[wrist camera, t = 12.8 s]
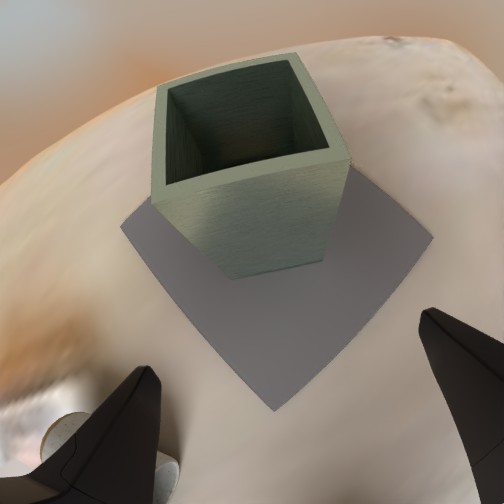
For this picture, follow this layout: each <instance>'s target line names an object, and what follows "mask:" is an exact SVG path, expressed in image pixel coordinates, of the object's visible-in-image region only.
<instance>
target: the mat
mask: <svg viewBox="0 0 504 504" xmlns="http://www.w3.org/2000/svg"><path fill="white" fill-rule="evenodd" d="M120 227H121V229H122V230H123V232H124V233H125V235H126V236H127V238H128V239H129V241H130V242H131V243H132V245H133V246H134V248H135V249H136V251H137V252H138V253H139V255H140V256H141V258H142V259H143V260H144V262H145V263H146V265H147V266H148V267H149V269H150V270H151V271H152V273H153V274H154V275H155V277H156V278H157V279H158V281H159V282H160V283H161V285H162V286H163V287H164V289H165V290H166V291H167V292H168V294H169V295H170V296H171V298H172V299H173V300H174V301H175V303H176V304H177V305H178V306H179V308H180V309H181V310H182V311H183V313H184V314H185V315H186V316H187V318H188V319H189V320H190V321H191V322H192V324H193V325H194V326H195V327H196V328H197V330H198V331H199V332H200V333H201V334H202V335H203V337H204V338H205V339H206V340H207V341H208V342H209V344H210V345H211V346H212V347H213V348H214V349H215V350H216V352H217V353H218V354H219V355H220V356H221V357H222V358H223V359H224V361H225V362H226V363H227V364H228V365H229V366H230V367H231V368H232V369H233V370H234V371H235V373H236V374H237V375H238V376H239V377H240V378H241V379H242V380H243V381H244V382H245V383H246V384H247V385H248V386H249V387H250V388H251V389H252V390H253V391H254V392H255V393H256V394H257V396H258V397H259V398H260V399H261V400H262V401H263V402H264V403H265V404H266V405H267V406H268V407H269V408H271V409H272V410H273V411H274V412H275V411H276V410H277V409H278V408H280V407H281V406H282V405H283V404H284V403H286V402H287V401H288V400H289V399H290V398H291V397H293V396H294V395H295V394H296V393H297V392H298V391H299V390H301V389H302V388H303V387H304V386H305V385H306V384H307V383H308V382H309V381H310V380H312V379H313V378H314V377H315V376H316V375H317V374H318V373H319V372H320V371H321V370H322V369H323V368H324V367H325V366H326V365H327V364H328V363H329V362H330V361H331V360H332V359H333V358H334V357H335V356H336V355H337V354H338V353H339V352H340V351H341V350H342V349H343V348H344V347H345V346H346V345H347V344H348V343H349V342H350V341H351V340H352V339H353V338H354V337H355V336H356V335H357V333H358V332H359V331H360V330H361V329H362V328H363V327H364V326H365V325H366V324H367V322H368V321H369V320H370V319H371V318H372V317H373V316H374V314H375V313H376V312H377V311H378V310H379V309H380V307H381V306H382V305H383V304H384V303H385V302H386V300H387V299H388V298H389V297H390V295H391V294H392V293H393V292H394V291H395V289H396V288H397V287H398V286H399V284H400V283H401V282H402V280H403V279H404V278H405V277H406V275H407V274H408V273H409V271H410V270H411V269H412V267H413V266H414V265H415V263H416V262H417V261H418V259H419V258H420V256H421V255H422V254H423V252H424V251H425V249H426V248H427V246H428V245H429V244H430V242H431V241H432V239H433V238H434V237H433V236H432V235H431V234H430V233H429V232H428V231H427V230H426V229H425V228H424V227H423V226H421V225H420V224H419V223H418V222H417V221H416V220H415V219H414V218H413V217H412V216H411V215H410V214H409V213H407V212H406V211H405V210H404V209H403V208H402V207H401V206H400V205H399V204H397V203H396V202H395V201H394V200H393V199H392V198H390V197H389V196H388V195H387V194H386V193H385V192H383V191H382V190H381V189H380V188H379V187H377V186H376V185H375V184H374V183H373V182H371V181H370V180H369V179H368V178H366V177H365V176H364V175H362V174H361V173H360V172H359V171H357V170H356V169H355V168H353V167H352V166H351V165H350V166H349V170H348V174H347V178H346V182H345V186H344V190H343V193H342V197H341V201H340V204H339V208H338V211H337V215H336V218H335V222H334V225H333V229H332V232H331V236H330V239H329V242H328V245H327V249H326V252H325V255H324V258H323V261H322V262H317V263H313V264H308V265H303V266H299V267H294V268H289V269H285V270H280V271H275V272H270V273H266V274H261V275H256V276H251V277H246V278H241V279H236V280H231V279H230V278H229V277H227V276H226V275H225V274H224V273H223V272H222V271H221V270H220V269H219V268H218V267H217V266H216V265H214V264H213V263H212V262H211V261H210V260H209V259H208V258H207V257H206V256H205V255H204V254H203V253H202V252H201V251H199V250H198V249H197V248H196V247H195V246H194V245H193V244H192V243H191V242H190V241H189V240H188V239H187V238H186V237H185V236H184V235H183V234H182V233H181V232H179V231H178V230H177V229H176V228H175V227H174V226H173V225H172V224H171V223H170V222H169V221H168V220H167V219H166V218H165V217H164V216H163V215H162V214H161V213H160V212H159V211H158V210H157V209H156V208H155V207H154V206H153V205H152V204H151V196H150V197H149V198H148V199H147V200H146V201H145V202H144V203H143V204H142V205H141V206H140V207H139V208H138V209H137V210H136V211H135V212H134V213H133V214H132V215H131V216H130V217H129V218H128V219H127V220H126V221H125V222H124V223H123V224H122V225H121V226H120Z"/></svg>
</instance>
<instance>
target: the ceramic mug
mask: <svg viewBox="0 0 504 504" xmlns="http://www.w3.org/2000/svg"><path fill="white" fill-rule="evenodd" d="M90 416H91V414H88V413H85V412H74V413H70V414H67V415H65V416H63V417H61V418H59V419H58V420H57V421H56V422H54V423H53V424H52V425H51V426H50V427H49V429H48V430H47V432H46V434H45V435H44V437H43V439H42V443H41V448H40V457H41V461H42V463H43V462H44V461H45V460H46V459H48V458H49V457H50V456H51V455H52V454H53V453H54V452H56V451H57V450H58V449H59V448H60V447H61V446H62V445H63V444H64V443H65V442H66V441H67V440H68V439H69V438H70V437H71V436H72V435H73V434H74V433H75V432H76V431H77V430H78V428H79V427H80V426H81V425H82V424H83V423H84V422H85V421H86V420H87V419H88V418H89V417H90ZM179 470H180V468H179V464H178V462H177V461H176V460H175V459H173V458H172V457H170V456H168V455H166V454H164V453H161V452H159V451H157V459H156V469H155V481H154V494H153V504H168V503H169V502H170V500H171V498H172V496H173V492H174V490H175V488H176V485H177V482H178V477H179Z"/></svg>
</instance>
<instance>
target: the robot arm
mask: <svg viewBox="0 0 504 504" xmlns="http://www.w3.org/2000/svg"><path fill="white" fill-rule="evenodd" d="M419 336H420V339H421V341H422V344H423V346H424V349H425V352H426V354H427V357H428V360H429V363H430V366H431V368H432V371H433V373H434V376H435V378H436V380H437V382H438V384H439V387H440V389H441V391H442V393H443V395H444V398H445V400H446V402H447V405H448V407H449V409H450V412H451V414H452V416H453V419H454V421H455V424H456V426H457V429H458V432H459V434H460V437H461V439H462V442H463V445H464V448H465V451H466V453H467V456H468V459H469V462H470V466H471V467H472V468H471V469H472V472H473V476H474V479H475V482H476V486H477V490H478V493H479V497H480V501H481V504H503V503H504V344H503V343H501V342H500V341H498V340H496V339H494V338H492V337H490V336H488V335H487V334H485V333H483V332H481V331H479V330H477V329H475V328H473V327H471V326H469V325H468V324H466V323H464V322H462V321H460V320H458V319H456V318H454V317H452V316H450V315H448V314H446V313H444V312H442V311H440V310H438V309H436V308H434V307H431V308H428V309H425V310H423V311H422V313H421V318H420V323H419ZM160 422H161V382H160V379H159V378H158V377H157V375H156V374H155V372H154V371H153V369H152V368H151V367H150V366H148V365H146V366H138V367H137V368H136V369H135V370H134V371H133V372H132V373H131V374H130V375H129V376H128V377H127V378H126V379H125V380H124V381H123V382H122V383H121V384H120V385H119V386H118V388H117V389H116V390H115V391H114V392H113V393H112V394H111V395H110V396H109V397H108V398H107V399H106V400H105V401H104V402H103V403H102V404H101V405H100V406H99V407H98V409H97V410H96V411H95V412H94V413H93V414H92V415H91V416H90V417H89V418H88V419H87V420H86V421H85V422H84V423H83V424H82V425H81V426H80V427H79V428H78V430H77V431H76V432H75V433H74V434H73V435H72V436H71V437H70V438H69V439H68V440H67V441H66V442H65V443H64V444H63V445H62V446H61V447H60V448H59V449H58V450H57V451H56V452H54V453H53V454H52V455H51V456H50V457H49V458H48V459H46V460H45V461H44V462H43V463H42V464H41V465H39V466H38V467H37V468H36V469H35V470H34V471H32V472H31V473H29V474H27V475H24V476H18V477H5V478H0V504H153V494H154V481H155V469H156V459H157V450H158V441H159V432H160Z"/></svg>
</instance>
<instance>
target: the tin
mask: <svg viewBox="0 0 504 504" xmlns="http://www.w3.org/2000/svg"><path fill="white" fill-rule="evenodd" d="M350 162H351V156H350V154H349V152H348V150H347V147H346V145H345V143H344V141H343V139H342V136H341V134H340V132H339V130H338V128H337V126H336V124H335V122H334V120H333V118H332V116H331V114H330V112H329V110H328V108H327V106H326V104H325V102H324V100H323V98H322V96H321V94H320V93H319V91H318V89H317V87H316V85H315V83H314V82H313V80H312V78H311V76H310V75H309V73H308V71H307V69H306V68H305V66H304V64H303V63H302V61H301V59H300V58H299V56H298V54H297V53H288V54H281V55H275V56H268V57H263V58H257V59H252V60H247V61H243V62H238V63H234V64H229V65H225V66H221V67H217V68H213V69H210V70H206V71H203V72H199V73H196V74H193V75H189V76H186V77H183V78H180V79H177V80H174V81H171V82H168V83H165V84H163V85H160V86H157V94H156V105H155V116H154V129H153V147H152V174H151V204H152V205H153V206H154V207H155V208H156V209H157V210H158V211H159V212H160V213H161V214H162V215H163V216H164V217H165V218H166V219H167V220H168V221H169V222H170V223H171V224H172V225H173V226H174V227H175V228H176V229H177V230H178V231H179V232H181V233H182V234H183V235H184V236H185V237H186V238H187V239H188V240H189V241H190V242H191V243H192V244H193V245H194V246H195V247H196V248H197V249H198V250H199V251H201V252H202V253H203V254H204V255H205V256H206V257H207V258H208V259H209V260H210V261H211V262H212V263H213V264H214V265H216V266H217V267H218V268H219V269H220V270H221V271H222V272H223V273H224V274H225V275H226V276H227V277H229V278H230V279H231V280H236V279H241V278H246V277H251V276H256V275H261V274H266V273H270V272H275V271H280V270H285V269H289V268H294V267H299V266H303V265H308V264H313V263H317V262H322V261H323V258H324V255H325V252H326V249H327V245H328V242H329V239H330V236H331V232H332V229H333V225H334V222H335V218H336V215H337V211H338V208H339V204H340V201H341V197H342V193H343V190H344V186H345V182H346V178H347V174H348V170H349V166H350Z"/></svg>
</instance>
